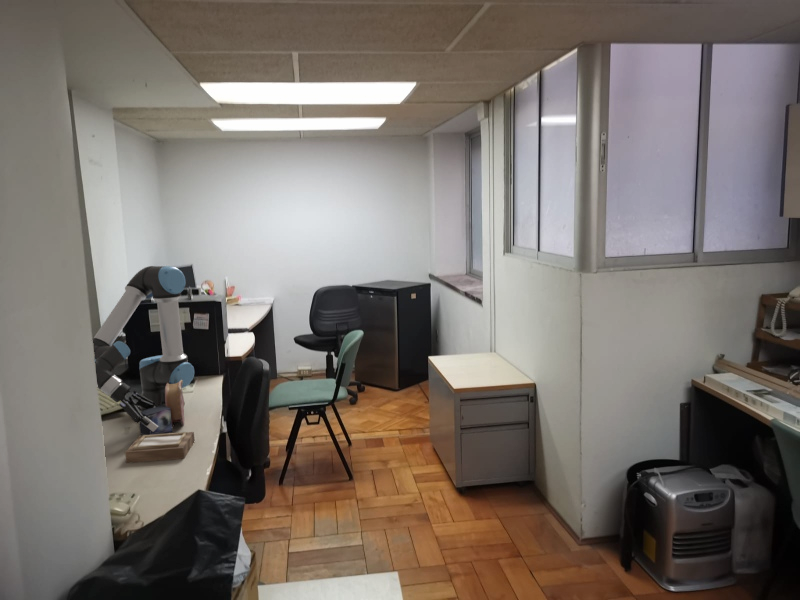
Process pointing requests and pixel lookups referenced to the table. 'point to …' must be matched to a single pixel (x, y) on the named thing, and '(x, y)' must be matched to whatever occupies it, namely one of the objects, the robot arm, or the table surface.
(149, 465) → the table surface
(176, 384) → the face sculpture
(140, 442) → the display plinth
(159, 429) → the small box
